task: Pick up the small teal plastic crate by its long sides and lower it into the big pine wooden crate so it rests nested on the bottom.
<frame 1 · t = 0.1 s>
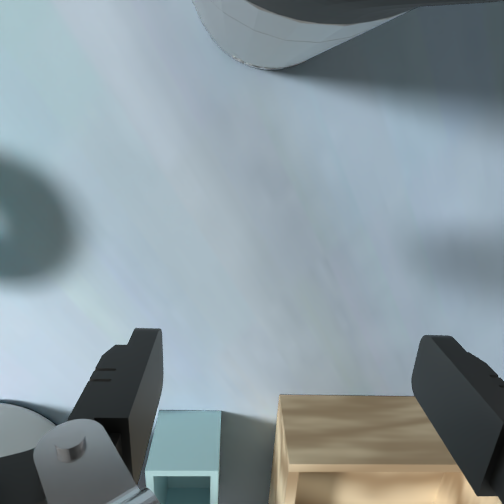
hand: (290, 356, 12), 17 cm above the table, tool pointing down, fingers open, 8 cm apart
large crate: (360, 465, 38), on the table
small crate: (190, 450, 37), on the table
cylinder vase: (9, 447, 36), on the table
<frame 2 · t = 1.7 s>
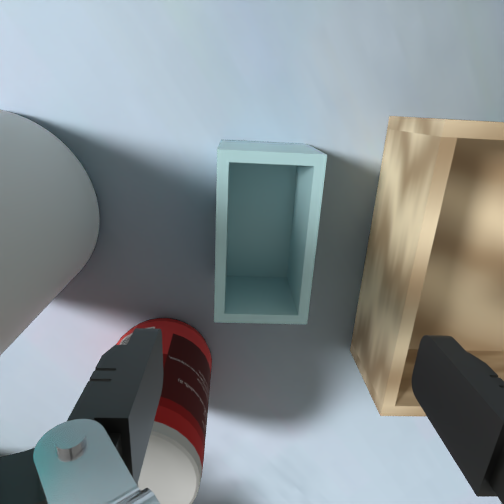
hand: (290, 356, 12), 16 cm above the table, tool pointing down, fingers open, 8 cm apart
large crate: (486, 250, 28), on the table
canned food: (164, 355, 31), on the table
small crate: (259, 215, 27), on the table
cylinder vase: (10, 205, 26), on the table
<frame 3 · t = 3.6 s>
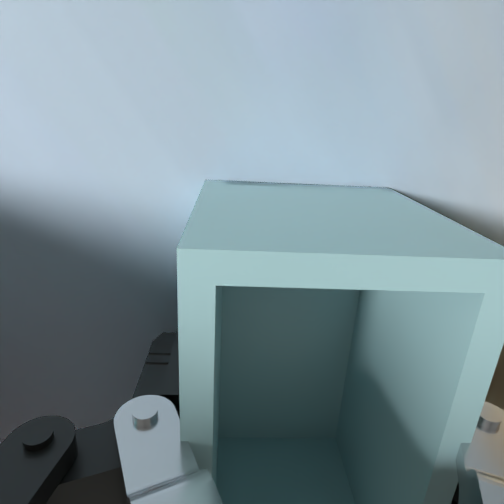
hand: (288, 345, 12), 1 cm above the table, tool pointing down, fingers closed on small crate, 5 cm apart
small crate: (285, 327, 13), on the table, touching gripper
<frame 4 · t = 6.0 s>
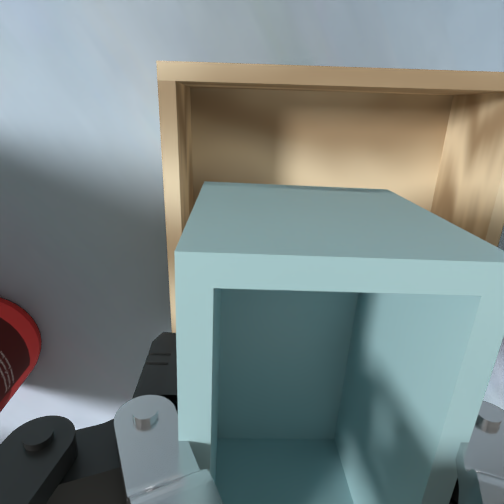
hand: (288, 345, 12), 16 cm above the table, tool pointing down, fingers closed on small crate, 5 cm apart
large crate: (310, 216, 27), on the table
small crate: (283, 328, 13), point 15 cm above the table, touching gripper
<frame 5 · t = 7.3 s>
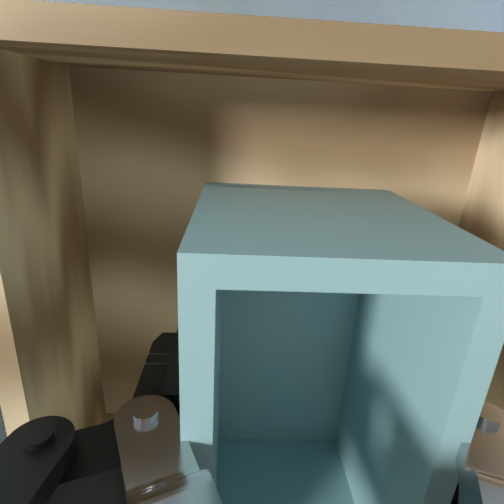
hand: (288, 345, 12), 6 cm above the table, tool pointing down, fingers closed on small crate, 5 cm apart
large crate: (270, 267, 18), on the table
small crate: (284, 328, 13), point 5 cm above the table, touching gripper
when the fingers open (3 cm above the table, at t = 8.4 s): small crate drops 1 cm, resting on large crate.
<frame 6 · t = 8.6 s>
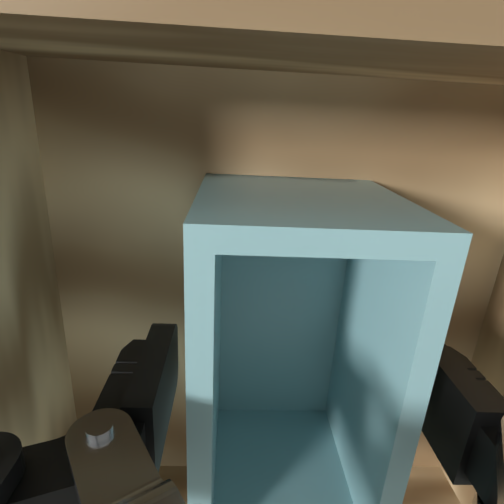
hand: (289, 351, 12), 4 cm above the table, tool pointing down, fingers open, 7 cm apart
large crate: (277, 298, 15), on the table
small crate: (278, 307, 15), point 1 cm above the table, touching large crate
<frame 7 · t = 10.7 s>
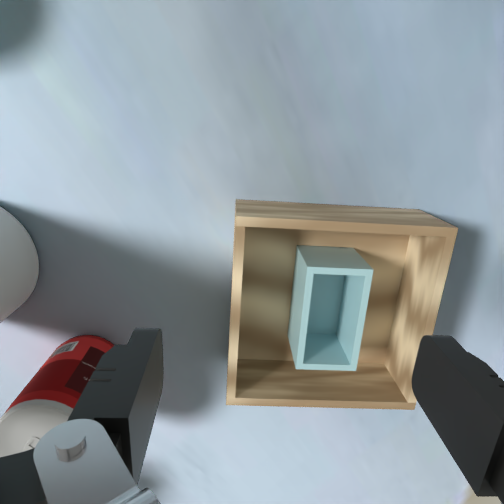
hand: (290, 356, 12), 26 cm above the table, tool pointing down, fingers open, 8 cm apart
large crate: (317, 289, 40), on the table
canned food: (90, 362, 42), on the table
small crate: (318, 292, 39), point 1 cm above the table, touching large crate
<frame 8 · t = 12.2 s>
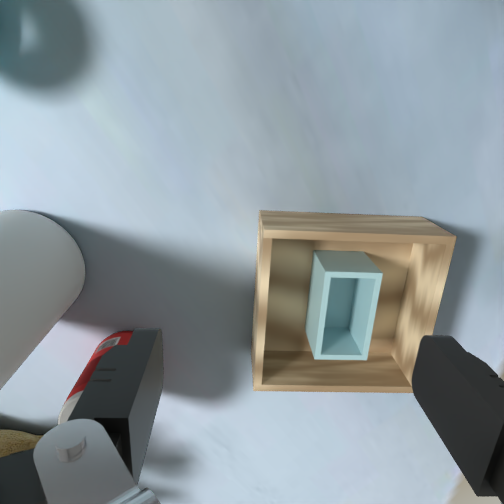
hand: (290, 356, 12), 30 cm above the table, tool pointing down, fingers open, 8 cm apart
large crate: (331, 288, 45), on the table
canned food: (129, 355, 47), on the table
decorative coral: (18, 463, 52), on the table
small crate: (332, 291, 44), point 1 cm above the table, touching large crate
cylinder vase: (30, 262, 42), on the table
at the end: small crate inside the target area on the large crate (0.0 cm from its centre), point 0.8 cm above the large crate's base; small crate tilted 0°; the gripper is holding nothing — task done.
